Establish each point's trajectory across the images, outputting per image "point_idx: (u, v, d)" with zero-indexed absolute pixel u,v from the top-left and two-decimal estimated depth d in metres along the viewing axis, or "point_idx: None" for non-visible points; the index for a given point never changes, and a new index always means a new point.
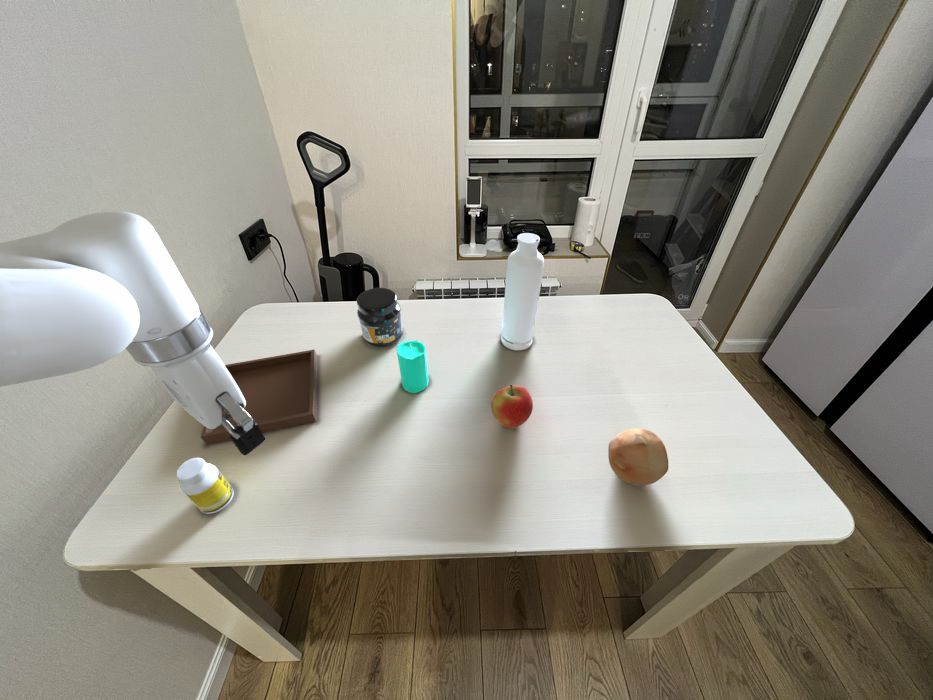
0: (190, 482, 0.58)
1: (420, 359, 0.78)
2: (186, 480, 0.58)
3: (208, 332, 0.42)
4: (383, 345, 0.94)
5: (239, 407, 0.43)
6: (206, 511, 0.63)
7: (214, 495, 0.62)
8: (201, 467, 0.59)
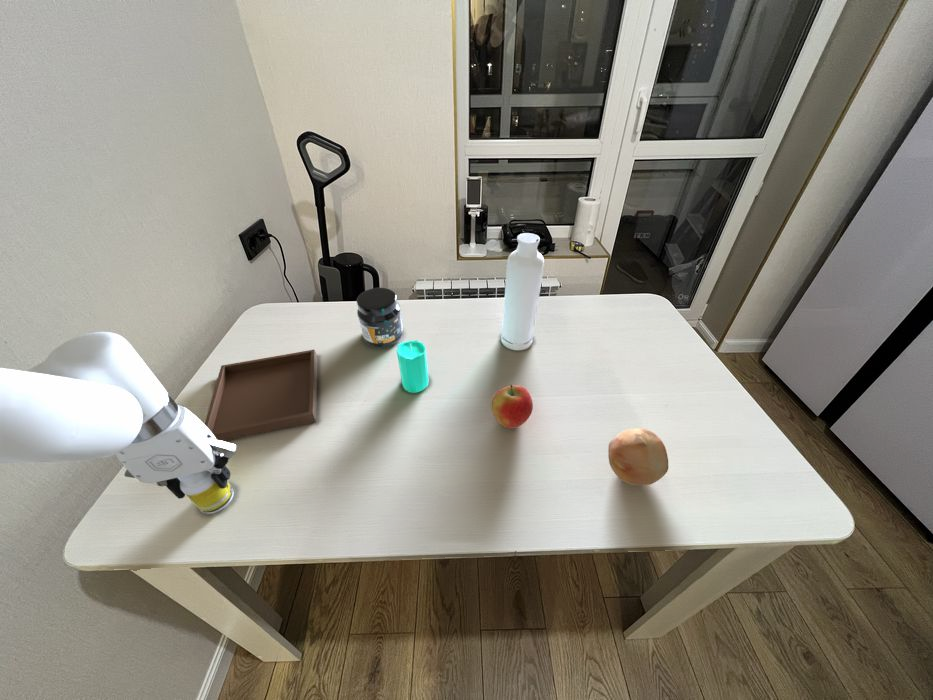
0: (190, 482, 0.58)
1: (420, 359, 0.78)
2: (186, 480, 0.58)
3: None
4: (383, 345, 0.94)
5: (225, 442, 0.58)
6: (206, 511, 0.63)
7: (214, 495, 0.62)
8: None
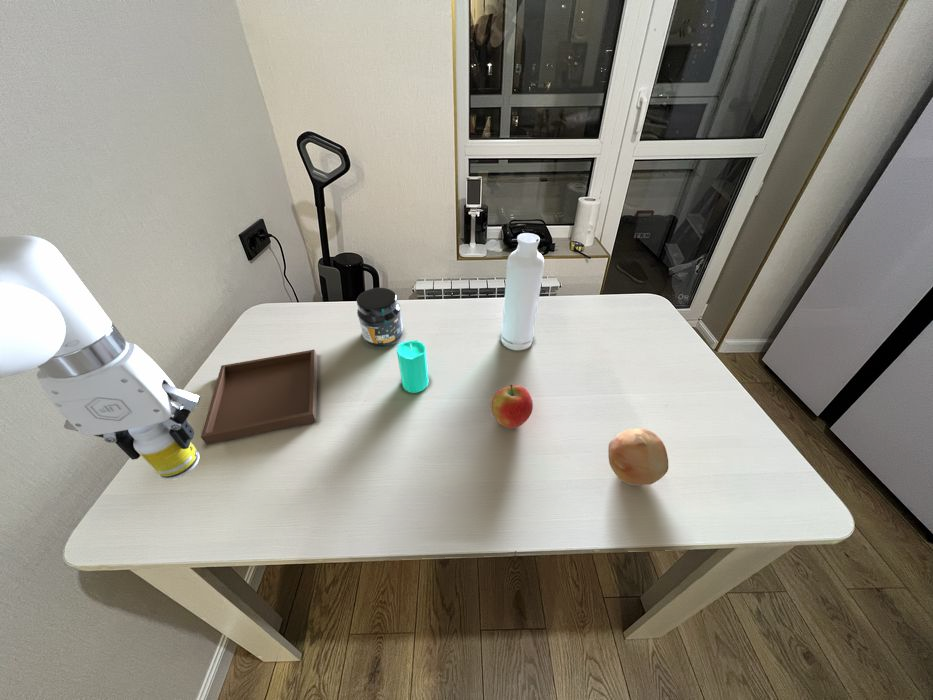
0: (144, 438, 0.50)
1: (420, 359, 0.78)
2: (139, 436, 0.49)
3: None
4: (383, 345, 0.94)
5: (185, 391, 0.50)
6: (165, 476, 0.54)
7: (175, 457, 0.53)
8: None
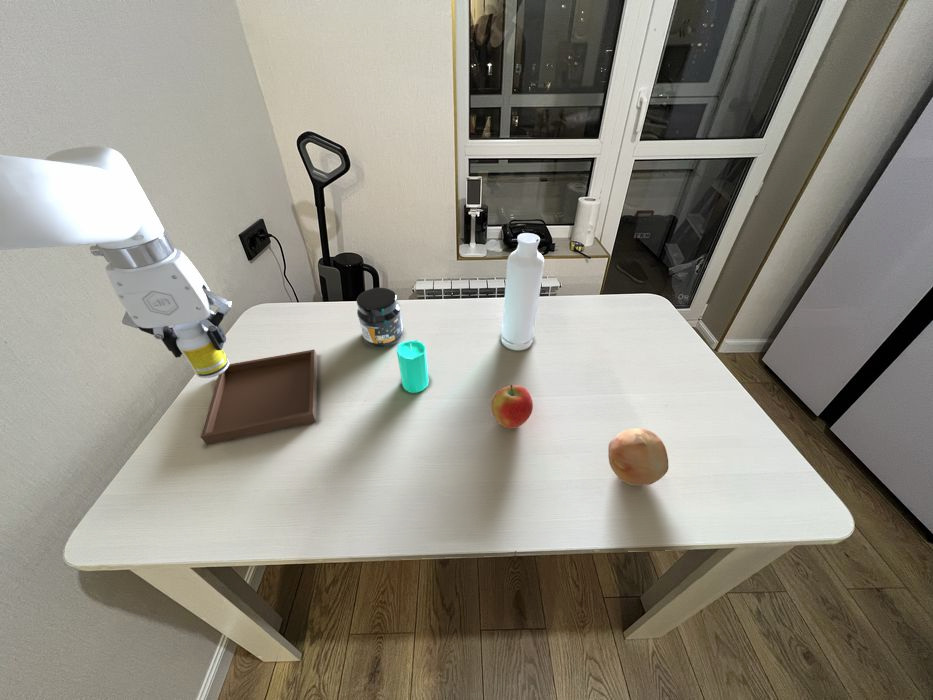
0: (186, 336, 0.60)
1: (420, 359, 0.78)
2: (182, 333, 0.59)
3: None
4: (383, 345, 0.94)
5: (220, 297, 0.59)
6: (202, 374, 0.64)
7: (210, 356, 0.63)
8: (197, 323, 0.60)
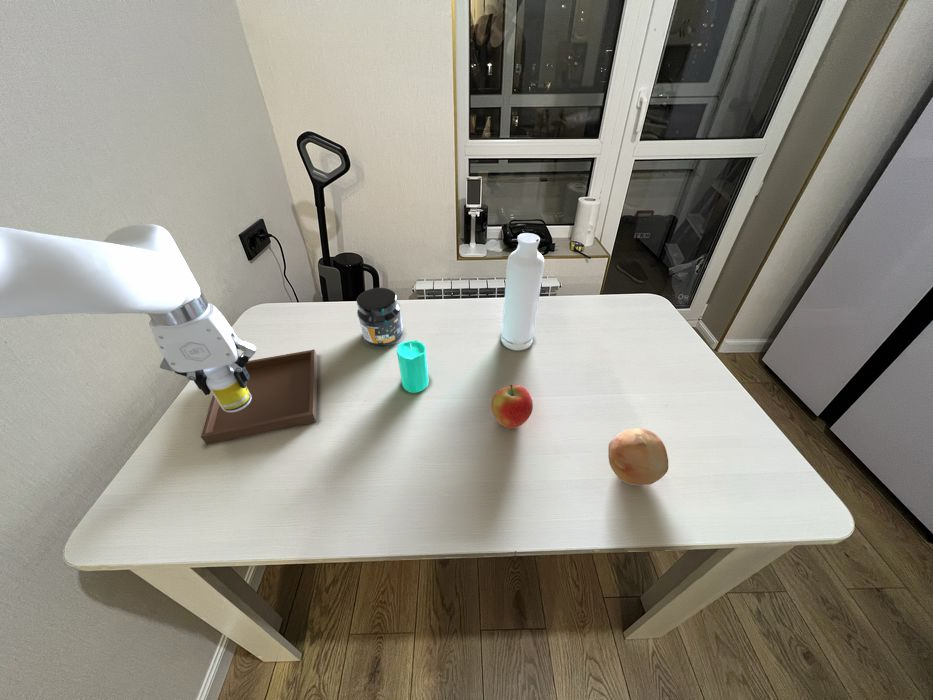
0: (216, 377, 0.67)
1: (420, 359, 0.78)
2: (212, 375, 0.66)
3: None
4: (383, 345, 0.94)
5: (246, 342, 0.67)
6: (228, 409, 0.71)
7: (236, 394, 0.70)
8: (225, 365, 0.68)
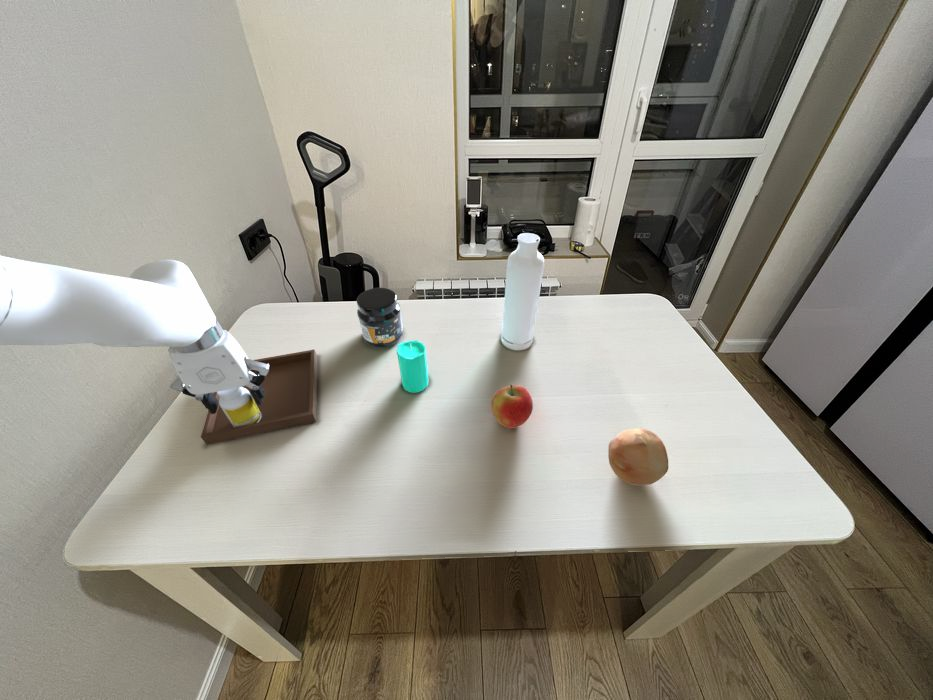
0: (228, 398, 0.70)
1: (420, 359, 0.78)
2: (225, 396, 0.70)
3: None
4: (383, 345, 0.94)
5: (259, 362, 0.70)
6: None
7: (247, 413, 0.74)
8: None
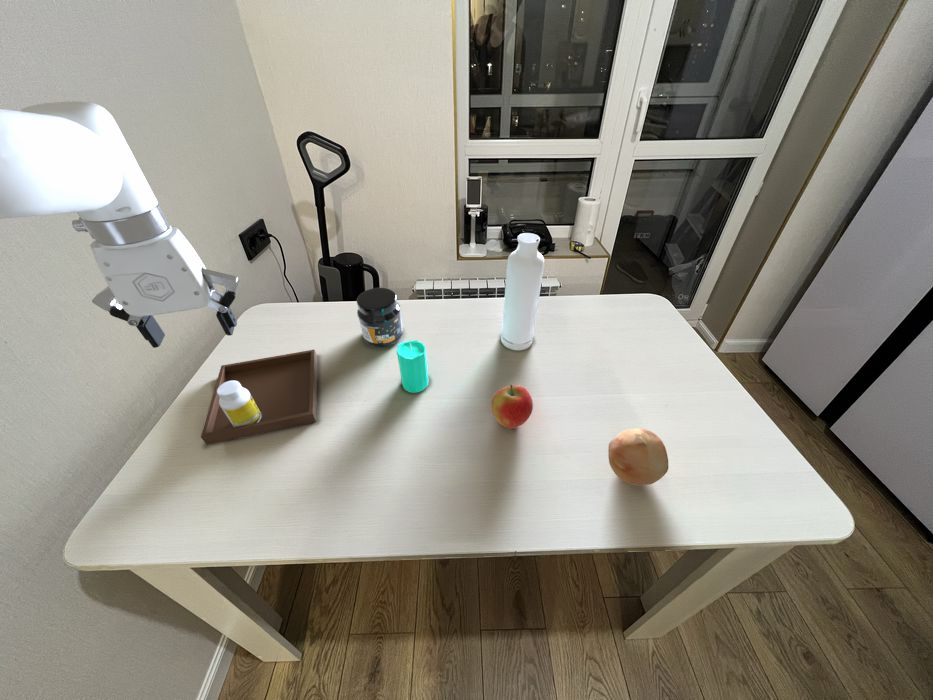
0: (228, 398, 0.70)
1: (420, 359, 0.78)
2: (225, 396, 0.70)
3: None
4: (383, 345, 0.94)
5: (223, 273, 0.53)
6: None
7: (247, 413, 0.74)
8: (237, 387, 0.71)
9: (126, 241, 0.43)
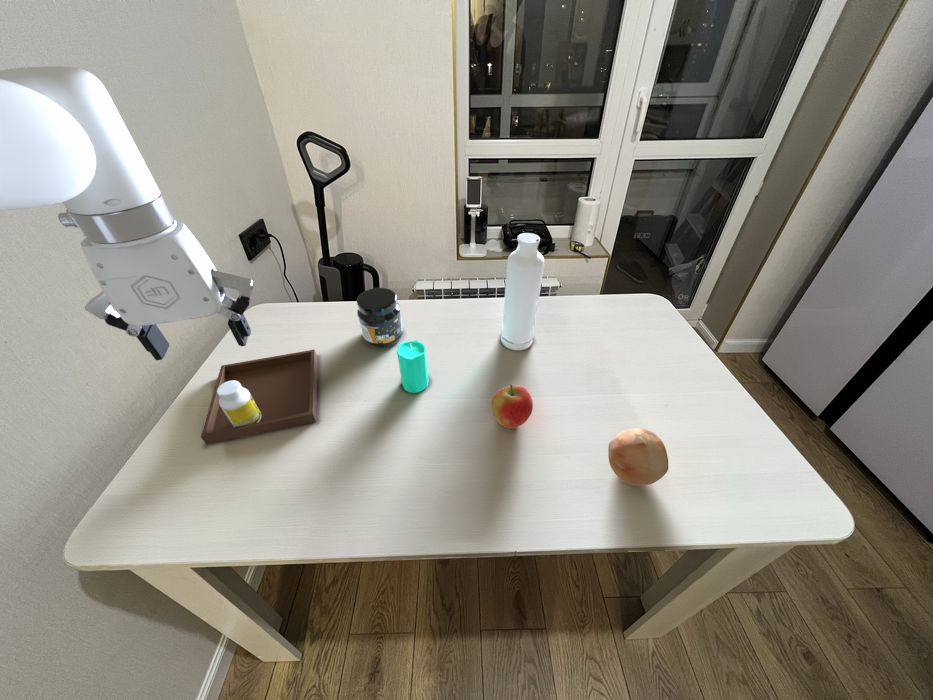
0: (228, 398, 0.70)
1: (420, 359, 0.78)
2: (225, 396, 0.70)
3: None
4: (383, 345, 0.94)
5: (235, 276, 0.45)
6: None
7: (247, 413, 0.74)
8: (237, 387, 0.71)
9: (122, 238, 0.36)
